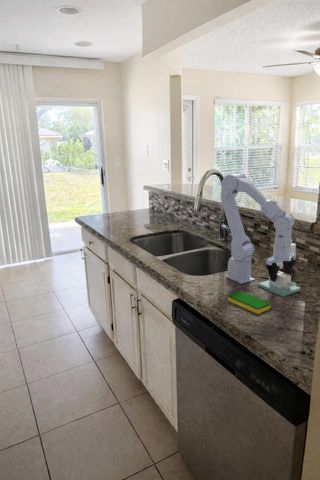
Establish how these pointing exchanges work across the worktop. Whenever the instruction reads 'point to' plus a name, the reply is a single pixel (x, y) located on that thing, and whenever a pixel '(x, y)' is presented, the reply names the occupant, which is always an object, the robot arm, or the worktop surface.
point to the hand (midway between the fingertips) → (279, 279)
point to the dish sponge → (249, 302)
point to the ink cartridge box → (292, 250)
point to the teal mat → (278, 289)
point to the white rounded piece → (283, 281)
